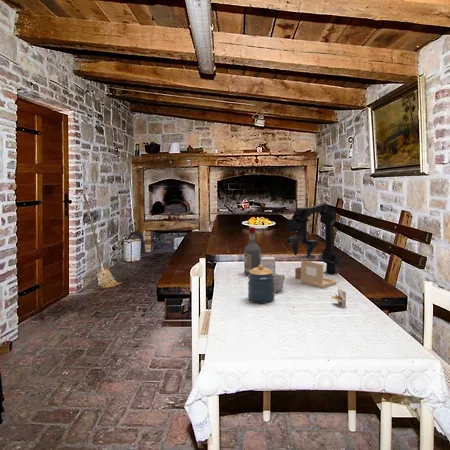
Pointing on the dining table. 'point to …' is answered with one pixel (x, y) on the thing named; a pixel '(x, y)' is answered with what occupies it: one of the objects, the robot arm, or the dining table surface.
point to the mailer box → (325, 283)
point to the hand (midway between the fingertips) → (301, 256)
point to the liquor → (251, 253)
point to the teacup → (278, 282)
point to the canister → (261, 285)
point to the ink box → (269, 263)
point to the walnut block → (298, 273)
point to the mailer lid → (312, 271)
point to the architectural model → (340, 298)
